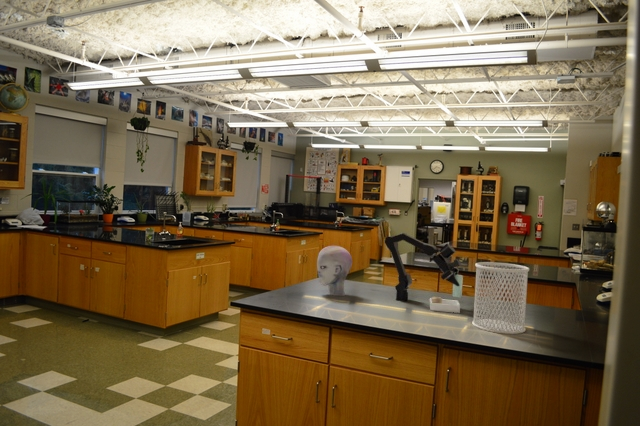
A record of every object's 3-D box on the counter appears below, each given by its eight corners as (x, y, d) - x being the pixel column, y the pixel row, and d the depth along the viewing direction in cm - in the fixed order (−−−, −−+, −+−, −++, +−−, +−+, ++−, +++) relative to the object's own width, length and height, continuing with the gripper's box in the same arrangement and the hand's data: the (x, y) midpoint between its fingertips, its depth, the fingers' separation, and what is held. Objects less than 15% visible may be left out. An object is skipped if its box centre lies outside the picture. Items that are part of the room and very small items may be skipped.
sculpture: (324, 298, 274) (326, 247, 273) (308, 291, 292) (311, 244, 291) (356, 296, 285) (359, 247, 284) (339, 290, 303) (342, 243, 302)
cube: (432, 307, 260) (432, 298, 260) (432, 305, 265) (432, 296, 265) (441, 308, 259) (442, 299, 259) (441, 306, 264) (441, 297, 264)
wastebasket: (506, 336, 211) (510, 270, 210) (461, 323, 231) (464, 263, 230) (536, 329, 226) (539, 268, 225) (491, 318, 246) (494, 261, 245)
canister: (451, 296, 263) (453, 275, 263) (453, 295, 268) (454, 274, 267) (461, 297, 261) (462, 276, 261) (462, 296, 266) (463, 275, 265)
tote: (430, 310, 256) (430, 303, 256) (429, 305, 270) (429, 298, 270) (459, 313, 253) (460, 305, 253) (457, 307, 267) (457, 300, 267)
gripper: (448, 256, 258) (467, 278, 252) (456, 253, 274) (474, 274, 269) (433, 268, 262) (451, 290, 257) (442, 265, 278) (460, 286, 273)
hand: (460, 285), depth 264 cm, fingers closed on canister, 5 cm apart
